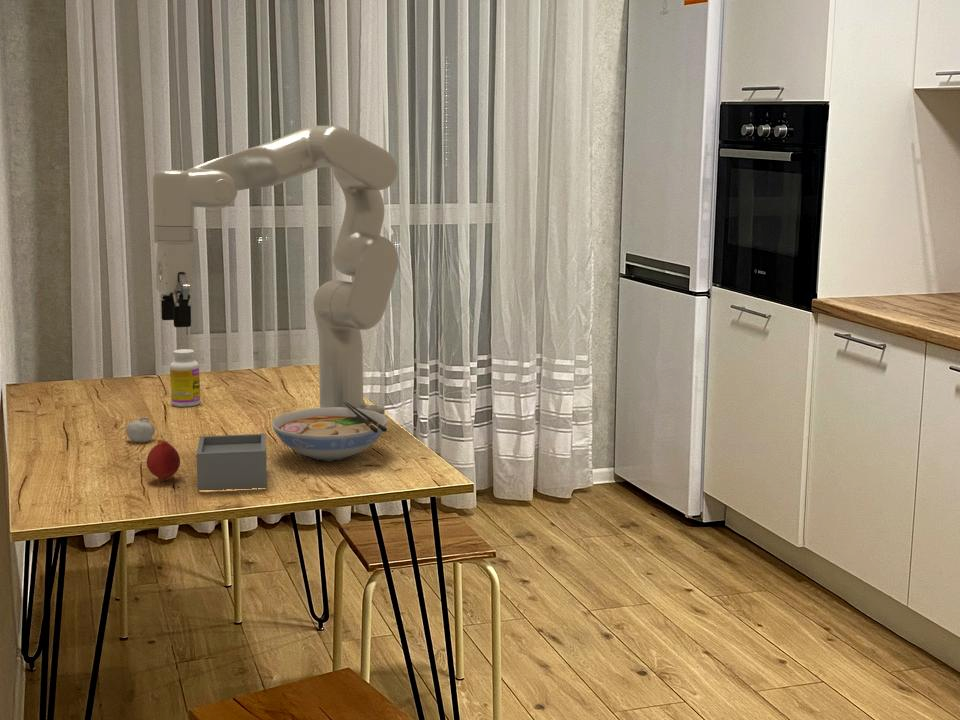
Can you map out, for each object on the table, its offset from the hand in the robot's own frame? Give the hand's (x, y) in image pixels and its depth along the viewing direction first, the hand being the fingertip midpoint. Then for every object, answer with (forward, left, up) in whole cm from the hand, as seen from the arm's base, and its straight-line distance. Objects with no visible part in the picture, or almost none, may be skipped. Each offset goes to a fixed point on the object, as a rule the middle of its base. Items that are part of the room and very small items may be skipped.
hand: (176, 323), depth 219 cm
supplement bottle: (+2, -43, -27) cm, 51 cm away
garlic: (+9, -11, -27) cm, 30 cm away
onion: (+2, +18, -27) cm, 32 cm away
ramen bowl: (-29, +7, -27) cm, 40 cm away
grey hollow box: (-10, +20, -27) cm, 35 cm away
